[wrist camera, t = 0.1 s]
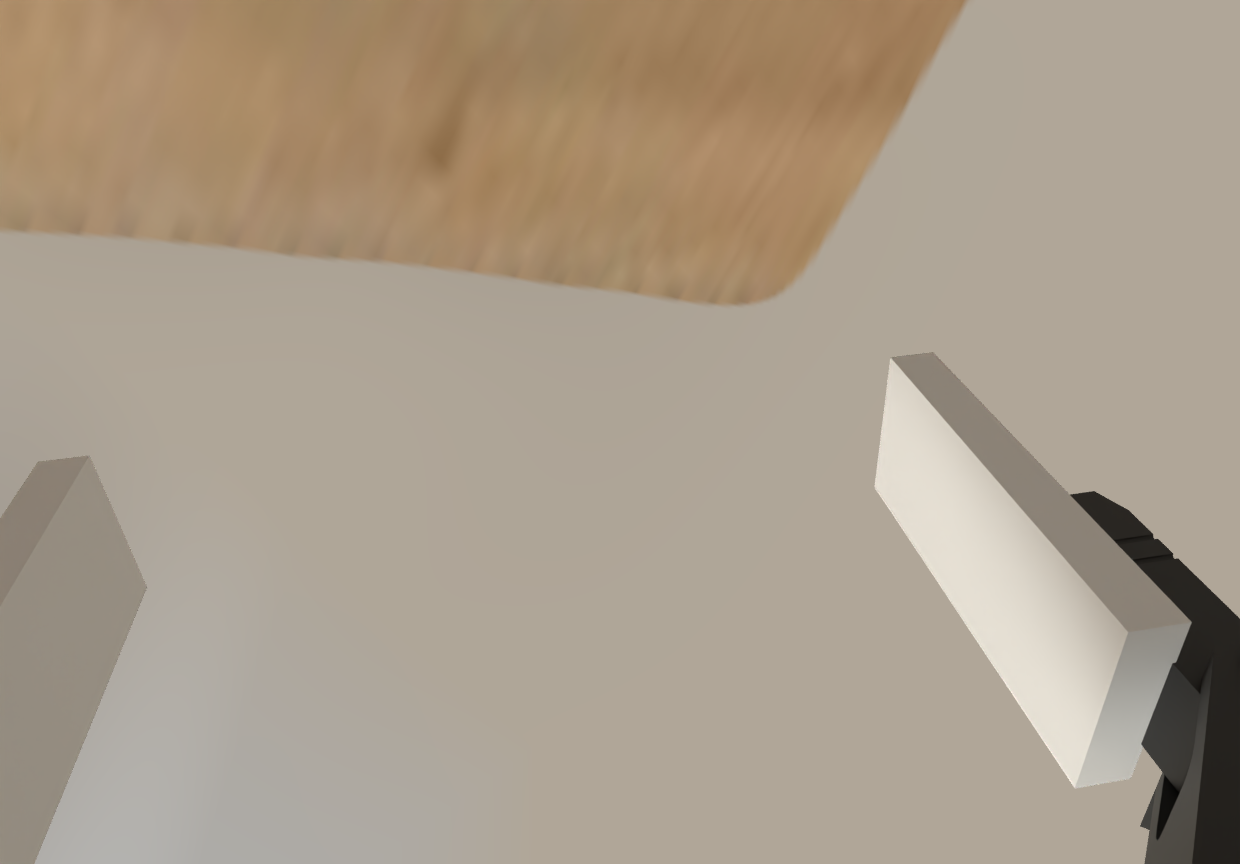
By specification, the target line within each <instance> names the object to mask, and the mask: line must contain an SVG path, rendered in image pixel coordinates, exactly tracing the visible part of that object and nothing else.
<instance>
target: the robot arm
mask: <svg viewBox="0 0 1240 864" xmlns="http://www.w3.org/2000/svg"><path fill="white" fill-rule="evenodd" d="M875 489H876V490H877V492H878V493H879V495H880V496H881V498H882V499H883V501H884V502H885V504H886V505H887V507H888V508H889V510H890V511H891V513H892V514H893V516H894V517H895V519H896V520H897V522H898V523H899V525H900V526H901V528H902V529H903V531H904V532H905V534H906V535H907V537H908V538H909V540H910V541H911V543H912V544H913V546H914V547H915V549H916V550H917V552H918V553H919V555H920V556H921V558H922V559H923V561H924V562H925V564H926V565H927V567H928V568H929V570H930V571H931V573H932V574H933V576H934V577H935V579H936V580H937V582H938V583H939V585H940V586H941V588H942V589H943V591H944V592H945V594H946V595H947V597H948V598H949V600H950V601H951V603H952V604H953V606H954V607H955V609H956V610H957V612H958V613H959V615H960V616H961V618H962V619H963V621H964V622H965V624H966V625H967V627H968V628H969V630H970V631H971V633H972V634H973V636H974V637H975V639H976V641H977V642H978V644H979V645H980V646H981V648H982V650H983V651H984V653H985V654H986V656H987V657H988V658H989V660H990V661H991V663H992V665H993V666H994V667H995V669H996V671H997V672H998V674H999V675H1000V676H1001V678H1002V680H1003V681H1004V683H1005V684H1006V686H1007V687H1008V689H1009V690H1010V692H1011V693H1012V695H1013V696H1014V698H1015V699H1016V701H1017V702H1018V704H1019V705H1020V707H1021V708H1022V710H1023V711H1024V713H1025V714H1026V716H1027V717H1028V719H1029V720H1030V721H1031V723H1032V725H1033V726H1034V728H1035V729H1036V731H1037V732H1038V734H1039V735H1040V737H1041V738H1042V740H1043V741H1044V743H1045V744H1046V746H1047V747H1048V749H1049V750H1050V752H1051V753H1052V755H1053V756H1054V758H1055V759H1056V761H1057V762H1058V764H1059V765H1060V767H1061V768H1062V770H1063V771H1064V773H1065V774H1066V776H1067V777H1068V779H1069V780H1070V782H1071V783H1072V785H1073V786H1074V788H1080V787H1085V786H1091V785H1097V784H1102V783H1108V782H1114V781H1119V780H1125V779H1130V778H1131V776H1132V773H1133V771H1134V769H1135V766H1136V764H1137V761H1138V758H1139V756H1140V753H1141V751H1142V748H1143V747H1144V748H1145V750H1146V751H1147V752H1148V754H1149V755H1150V756H1151V758H1152V759H1153V760H1154V761H1155V763H1156V764H1157V765H1158V766H1159V768H1160V769H1161V771H1162V772H1163V773H1162V775H1161V777H1160V780H1159V783H1158V785H1157V787H1156V789H1155V792H1154V794H1153V797H1152V799H1151V801H1150V804H1149V806H1148V809H1147V811H1146V813H1145V816H1144V818H1143V820H1142V823H1141V825H1140V826H1141V827H1144V828H1146V829H1149V830H1150V831H1149V838H1148V845H1147V851H1146V858H1145V864H1240V619H1239V618H1238V616H1236V615H1235V614H1234V613H1233V612H1232V611H1231V610H1230V609H1229V608H1228V607H1227V606H1226V605H1225V604H1224V603H1223V602H1222V601H1221V600H1220V599H1219V598H1218V597H1217V596H1216V595H1215V594H1214V593H1213V592H1212V591H1211V590H1210V589H1209V588H1208V587H1207V586H1206V585H1205V584H1204V583H1203V582H1202V581H1201V580H1199V578H1197V576H1195V575H1194V574H1193V573H1192V572H1191V571H1190V570H1189V569H1188V568H1187V567H1186V566H1185V565H1184V564H1183V563H1182V562H1181V561H1180V560H1179V559H1174V558H1173V553H1172V552H1171V551H1170V550H1169V549H1168V548H1167V547H1166V546H1165V545H1164V544H1162V542H1161V541H1160V540H1158V539H1154V538H1153V534H1152V533H1151V532H1150V531H1149V530H1148V529H1147V528H1146V527H1145V526H1144V525H1143V524H1142V523H1141V522H1140V521H1139V520H1138V519H1137V518H1136V517H1135V516H1134V515H1133V514H1132V513H1131V512H1130V511H1129V510H1127V509H1125V508H1124V507H1122V506H1120V505H1118V504H1116V503H1114V502H1113V501H1111V500H1109V499H1107V498H1105V497H1104V496H1102V495H1100V494H1098V493H1096V492H1095V491H1093V492H1086V493H1079V494H1071V495H1069V494H1068V492H1067V491H1065V490H1064V488H1062V486H1061V485H1060V484H1059V483H1058V482H1057V481H1056V480H1055V479H1054V478H1053V477H1052V476H1051V475H1050V474H1049V473H1048V472H1047V471H1046V470H1045V469H1044V468H1043V466H1042V465H1041V464H1040V463H1038V461H1037V460H1036V459H1035V458H1034V457H1033V456H1032V455H1031V454H1030V453H1029V452H1028V451H1027V450H1026V449H1025V448H1024V447H1023V446H1022V444H1021V443H1020V442H1019V441H1018V440H1017V439H1016V438H1015V437H1014V436H1013V435H1012V434H1011V433H1010V432H1009V431H1008V430H1007V429H1006V428H1005V427H1004V426H1003V425H1002V424H1001V423H1000V422H999V421H998V420H997V418H996V417H995V416H994V415H993V414H992V413H991V412H990V411H989V410H988V409H987V408H986V407H985V406H984V405H983V404H982V403H981V402H980V401H979V400H978V399H977V398H976V397H975V396H974V394H972V392H971V391H970V390H969V389H968V388H967V387H966V386H965V385H964V384H963V383H962V382H961V381H960V380H959V379H958V378H957V377H956V376H955V375H954V374H953V373H952V372H951V370H950V369H948V367H947V366H946V365H945V364H944V363H943V362H942V361H941V360H940V359H939V358H938V357H937V356H936V355H935V354H934V353H933V352H931V353H923V354H915V355H906V356H898V357H891V358H890V366H889V374H888V382H887V391H886V399H885V407H884V415H883V423H882V431H881V440H880V447H879V456H878V464H877V472H876V480H875ZM146 588H147V586H146V584H145V581H144V579H143V577H142V575H141V573H140V570H139V568H138V565H137V563H136V561H135V559H134V556H133V554H132V552H131V549H130V547H129V545H128V543H127V540H126V538H125V536H124V533H123V531H122V529H121V526H120V524H119V522H118V520H117V517H116V515H115V513H114V510H113V508H112V506H111V504H110V501H109V499H108V497H107V494H106V492H105V490H104V488H103V485H102V483H101V481H100V479H99V476H98V474H97V472H96V469H95V467H94V465H93V463H92V460H91V458H90V456H82V457H73V458H66V459H57V460H49V461H41V462H38V463H37V464H36V466H35V467H34V469H33V470H32V472H31V473H30V475H29V476H28V478H27V479H26V481H25V482H24V484H23V485H22V487H21V488H20V490H19V491H18V493H17V494H16V496H15V497H14V499H13V500H12V502H11V503H10V505H9V506H8V508H7V509H6V511H5V512H4V514H3V515H2V517H1V518H0V864H34V863H35V860H36V858H37V855H38V853H39V851H40V848H41V846H42V843H43V841H44V838H45V836H46V834H47V831H48V829H49V826H50V824H51V821H52V819H53V816H54V814H55V812H56V809H57V807H58V804H59V802H60V799H61V797H62V794H63V792H64V789H65V787H66V784H67V782H68V779H69V777H70V774H71V772H72V770H73V767H74V765H75V762H76V760H77V757H78V755H79V753H80V750H81V748H82V745H83V743H84V740H85V738H86V736H87V733H88V731H89V728H90V726H91V723H92V721H93V718H94V716H95V714H96V711H97V709H98V706H99V704H100V701H101V699H102V696H103V694H104V691H105V689H106V687H107V684H108V682H109V679H110V676H111V674H112V672H113V669H114V667H115V665H116V662H117V660H118V657H119V655H120V652H121V650H122V647H123V645H124V642H125V640H126V638H127V635H128V633H129V630H130V628H131V625H132V623H133V620H134V618H135V616H136V613H137V611H138V608H139V606H140V603H141V601H142V598H143V596H144V593H145V591H146Z"/></svg>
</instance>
